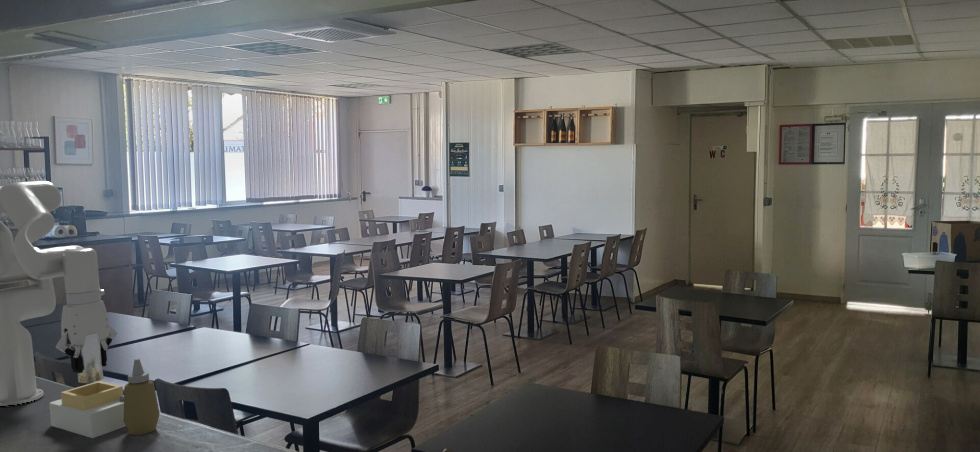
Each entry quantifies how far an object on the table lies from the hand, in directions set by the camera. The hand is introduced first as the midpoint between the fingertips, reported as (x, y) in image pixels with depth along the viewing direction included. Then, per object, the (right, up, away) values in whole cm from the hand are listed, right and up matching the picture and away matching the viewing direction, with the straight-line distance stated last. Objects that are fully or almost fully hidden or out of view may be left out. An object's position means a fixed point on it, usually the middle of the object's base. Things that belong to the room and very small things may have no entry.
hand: (89, 368), depth 185 cm
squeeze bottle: (+15, -15, -5) cm, 22 cm away
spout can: (0, -3, 0) cm, 3 cm away
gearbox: (0, -14, +2) cm, 14 cm away
